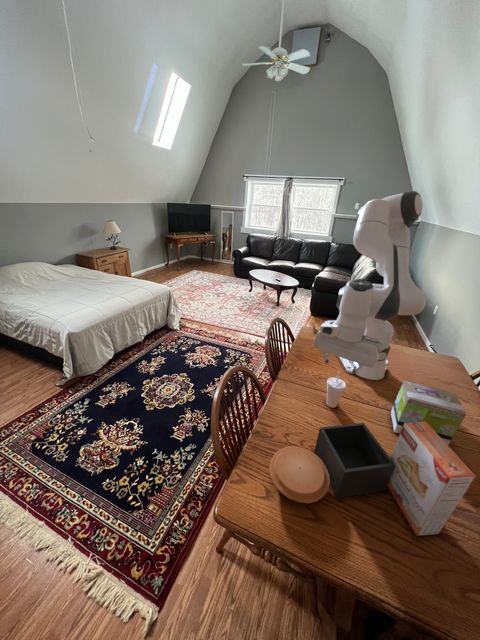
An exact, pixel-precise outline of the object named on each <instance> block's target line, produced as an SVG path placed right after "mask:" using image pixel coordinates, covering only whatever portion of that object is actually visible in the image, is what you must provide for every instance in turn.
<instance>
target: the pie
mask: <svg viewBox="0 0 480 640" xmlns="http://www.w3.org/2000/svg"><path fill="white" fill-rule="evenodd" d="M268 472H269V477H270V479H271V482H272V485H273V486H274V487H275V488H276V489H277V491H278V492H279V493H280V494H282V495H283V496H284V497H286V498H287V499H289V500H292V501H293V502H297V503H300V504H301V503H302V504H307V505H308V504H312V503H316V502H318V501H320V500H321V499H323V498H324V497H325V496H326V494H327V493H328V492H329V489H330V487H331V486H330V475H329V473H328V470H327V468H326V466H325V465H324V463H323V461H322V460H321V459H320V458H319V457H318V456H317V455H316V454H315V452H313V451H311V450H310V449H308V448H307V449H306V448H304V447H301V446H296V445H295V446H294V445H291V446H284V447H281V448H279V449H278V450H277V451H276V452H275V453H274V455H273V456H272V457H271V459H270V461H269V466H268Z"/></svg>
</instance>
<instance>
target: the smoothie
mask: <svg viewBox="0 0 480 640" xmlns="http://www.w3.org/2000/svg"><path fill="white" fill-rule="evenodd" d="M340 375H341V371H338V372H337V375H336V377H335V376H333V377H328V378H327V381H326V387H327V388H326V400H325V404H326V406H328V408H332V409H333V408H336V407H337V406H338V403H339V401H340V399H341V397H342V394H343V393H344V391H345V390H346V388H347V384H346V381H344V380H343V379H341V378H340Z"/></svg>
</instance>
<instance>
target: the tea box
mask: <svg viewBox="0 0 480 640" xmlns="http://www.w3.org/2000/svg"><path fill="white" fill-rule="evenodd" d="M395 398H396V399H395V401H394V404H393V405H392V408H391V411H390V416H391V421H392V427H393V428H392V429H393V433H396V434H399V435H400V433H401V430H402V428H403V426H404V423H407V422H427V423H428V424H429V426H430V427H431V428H432V429H433V430H434V431H435V432H436V433H437V434H438V435H439V436H440V438H441V439H442V440H443V441H444V442H445V443H446V444H447V445H448V446H449V445H450V443H451V442H452V440H453V439H454V436H456V433H457V431H458V429H459V428H460V427H461V424H462V423H463V422H464V419H465V417H466V415H467V413H466V410H465V409H464V406H463V405H462V403H461V401H460V399H459V397H458V395H457V393H454V392H451V391H447V390H444V389H438V388H435V387H430V386H426V385H422V384H420V383H415V382H410V381H406V380H403V381H402V384H401V386H400V389H399V391H398V393H397V396H396V397H395Z"/></svg>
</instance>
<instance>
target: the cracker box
mask: <svg viewBox="0 0 480 640" xmlns="http://www.w3.org/2000/svg"><path fill="white" fill-rule="evenodd" d="M389 457H390V459H391V460H392V461H393V463H394V464H395V468H394V470H393V472H392V475H391V477H390V479H389V482H388V484H387V486H386V487H387V488H388V490H389V491H390V493H391V495H392V497H393V499H394V500H395V502H396V504H397V506H398V507H399V509H400V510H401V512H402V514H403V516H404V517H405V519H406V521H407V523H408V524H409V526H410V528H411V529H412V531H413V533H414V535H415V536H416V537H419V536H430V535H431V536H432V535H440V533H441V532H442V530H443V528H444V527H445V525H446V524H447V523H448V520H449V519H450V518H451V516H452V514H453V513H454V511H455V510H456V509H457V506H458V505H459V504H460V502H461V500H462V498H463V497H464V496H465V494H466V493H467V491H468V490H469V488H470V486H471V485H472V483H473V482H474V480H475V478H476V475H475V473H474V472H472V470H471V469H470V468H469V467H468V466H467V465H466V463H464V461H463V460H462V459H461V458H460V457H459V456H458V454H456V453H455V451H453V450H452V448H451V447H450V446H449V445H447V444H446V443H445V442H444V441H443V440H442V439H441V438H440V436H439V435H438V434H437V433H436V432H435V431H434V430H433V429H432V428H431V427H430V426H429V424H428V423H427V422H407V423H404V426H403V428H402V430H401V433H400V434H399V436H398V438H397V440H396V443H395V445H394V448H393V450H392V452H391V455H390V456H389Z"/></svg>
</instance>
